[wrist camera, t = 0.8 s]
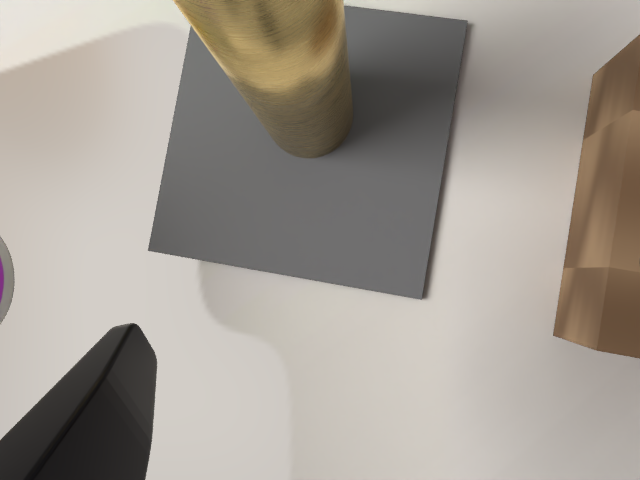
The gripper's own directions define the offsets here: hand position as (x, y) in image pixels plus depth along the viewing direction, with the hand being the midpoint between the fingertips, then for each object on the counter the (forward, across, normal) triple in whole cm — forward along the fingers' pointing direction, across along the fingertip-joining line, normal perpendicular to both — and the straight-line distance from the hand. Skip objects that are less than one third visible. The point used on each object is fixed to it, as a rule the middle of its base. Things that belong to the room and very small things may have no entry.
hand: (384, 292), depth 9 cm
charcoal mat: (+14, +2, +3) cm, 15 cm away
